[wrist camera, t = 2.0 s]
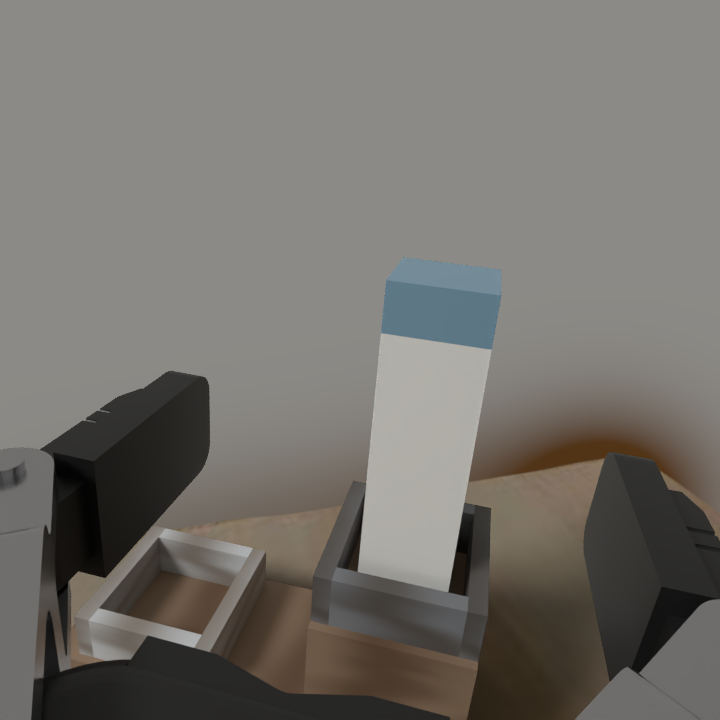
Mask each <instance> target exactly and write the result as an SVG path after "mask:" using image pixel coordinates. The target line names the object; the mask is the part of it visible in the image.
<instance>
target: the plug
mask: <svg viewBox="0 0 720 720" xmlns="http://www.w3.org/2000/svg"><path fill="white" fill-rule="evenodd" d="M500 300H501V270H500V269H491V268H483V267H476V266H468V265H460V264H452V263H443V262H436V261H428V260H420V259H413V258H404V257H403V259H402V260H401V261H400V263H399V264H398V265H397V267H396V268H395V269H394V271H393V272H392V273H391V275H390V276H389V277H388V279H387V280H386V288H385V299H384V309H383V319H382V331H381V339H380V350H379V360H378V370H377V380H376V390H375V401H374V411H373V421H372V431H371V441H370V452H369V462H368V472H367V483H366V492H365V503H364V513H363V523H362V533H361V543H360V554H359V564H358V572H360V573H365V574H369V575H373V576H378V577H382V578H387V579H391V580H395V581H400V582H404V583H409V584H413V585H418V586H422V587H426V588H431V589H435V590H440V591H444V592H448V591H449V585H450V580H451V574H452V568H453V563H454V557H455V552H456V546H457V540H458V535H459V529H460V524H461V518H462V512H463V507H464V501H465V496H466V490H467V485H468V479H469V473H470V468H471V462H472V456H473V451H474V445H475V440H476V434H477V429H478V423H479V417H480V411H481V406H482V401H483V395H484V390H485V383H486V378H487V373H488V367H489V361H490V356H491V350H492V345H493V339H494V334H495V328H496V322H497V317H498V311H499V305H500Z"/></svg>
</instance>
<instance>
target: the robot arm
mask: <svg viewBox="0 0 720 720" xmlns="http://www.w3.org/2000/svg"><path fill="white" fill-rule="evenodd" d="M209 446H210V411H209V384H208V381H207V379H206V378H205V377H201V376H196V375H191V374H186V373H179V372H174V371H168V372H166V373H165V374H163V375H162V376H161V377H159V378H158V379H156V380H155V381H153V382H152V383H151V384H149V385H148V386H147V387H145V388H144V389H139V390H136V391H133V392H130V393H127V394H124V395H122V396H119V397H117V398H115V399H114V400H112V401H111V402H110V403H108V404H106V405H105V406H104V407H102V408H101V409H100V411H96V412H95V413H93V414H92V415H90V416H89V417H87V418H86V421H81V422H80V423H79V424H77V425H75V426H74V427H73V428H71V429H70V430H68V431H67V432H65V433H64V434H62V435H61V436H59V437H58V438H56V439H55V440H53V441H52V442H51V443H49V444H48V445H46V446H45V447H43V448H42V449H40V450H38V449H33V448H9V449H3V450H0V720H450V717H448V716H444V715H441V714H437V713H433V712H429V711H426V710H422V709H418V708H415V707H411V706H407V705H404V704H400V703H396V702H392V701H389V700H385V699H381V698H378V697H374V696H367V695H330V694H294V693H286V692H283V691H280V690H278V689H276V688H275V687H273V686H271V685H269V684H268V683H266V682H264V681H263V680H261V679H259V678H257V677H256V676H254V675H252V674H251V673H249V672H247V671H245V670H244V669H242V668H240V667H238V666H237V665H235V664H233V663H232V662H230V661H228V660H226V659H225V658H223V657H221V656H219V655H218V654H215V653H211V652H208V651H204V650H200V649H197V648H193V647H189V646H185V645H182V644H178V643H174V642H171V641H167V640H163V639H160V638H156V637H152V636H147V637H146V638H145V640H144V641H143V643H142V644H141V646H140V647H139V648H138V650H137V651H136V653H135V654H134V655H133V657H132V658H131V659H121V660H110V661H101V662H96V663H90V664H85V665H81V666H78V667H74V668H71V591H70V583H69V580H70V579H71V578H72V577H73V576H74V575H75V574H76V573H77V572H78V571H80V572H84V573H87V574H91V575H95V576H99V577H103V578H106V577H107V576H108V574H109V573H110V572H111V571H112V570H113V569H114V568H115V567H116V565H117V564H118V563H119V562H120V561H121V560H122V559H123V558H124V557H125V555H126V554H127V553H128V552H129V551H130V550H131V549H132V548H133V546H134V545H135V544H136V543H137V542H138V541H139V540H140V539H141V538H142V536H143V535H144V534H145V533H146V532H147V531H148V530H149V529H150V527H151V526H152V525H153V524H154V523H155V522H156V521H157V520H158V518H159V517H160V516H161V515H162V514H163V513H164V512H165V511H166V510H167V508H168V507H169V506H170V505H171V504H172V503H173V502H174V500H176V498H177V497H178V496H179V495H180V494H181V493H182V492H183V491H184V489H185V488H186V487H187V486H188V485H189V484H190V483H191V482H192V481H193V479H194V478H195V477H196V476H197V475H198V474H199V473H200V471H201V470H202V468H203V467H204V465H205V462H206V460H207V456H208V453H209ZM714 534H715V532H714V530H713V528H712V526H711V524H710V522H709V521H708V519H707V517H706V515H705V513H704V512H703V511H702V510H701V509H700V508H699V507H698V506H697V505H695V504H694V503H693V502H692V501H691V500H690V499H689V498H688V497H687V496H685V495H684V494H683V493H682V492H678V491H673V490H668V488H667V486H666V483H665V481H664V479H663V477H662V475H661V473H660V471H659V469H658V467H657V465H656V463H655V461H654V460H651V459H646V458H641V457H635V456H629V455H624V454H618V453H613V452H610V453H608V454H607V456H606V458H605V460H604V463H603V466H602V469H601V473H600V476H599V480H598V483H597V487H596V490H595V493H594V497H593V500H592V504H591V507H590V511H589V514H588V518H587V521H586V526H585V532H584V557H585V561H586V566H587V571H588V576H589V581H590V586H591V591H592V596H593V601H594V606H595V611H596V616H597V621H598V626H599V630H600V635H601V640H602V645H603V650H604V655H605V660H606V665H607V670H608V675H609V680H610V683H609V684H608V685H607V686H606V687H605V688H604V689H603V690H602V691H601V692H600V693H599V694H598V695H597V696H596V698H595V699H594V700H593V701H592V702H591V703H590V704H589V705H588V706H587V707H586V708H585V709H584V710H583V711H582V712H581V714H580V715H579V716H578V717H577V718H576V719H575V720H720V541H719V539H718V537H717V536H715V535H714Z"/></svg>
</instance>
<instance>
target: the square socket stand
mask: <svg viewBox="0 0 720 720" xmlns="http://www.w3.org/2000/svg"><path fill="white" fill-rule="evenodd" d="M365 492H366V483H361V482H356V481H353V482H352V485H351V487H350V490H349V492H348V494H347V497H346V499H345V501H344V504H343V506H342V509H341V511H340V513H339V516H338V518H337V521H336V523H335V525H334V528H333V530H332V532H331V535H330V537H329V540H328V542H327V544H326V547H325V549H324V551H323V554H322V556H321V559H320V561H319V563H318V566H317V568H316V570H315V573H314V575H313V586H312V590H310V589H306V588H302V587H298V586H293V585H289V584H285V583H281V582H276V581H272V580H268V579H265V572H266V551H263V550H258V549H254V548H249V547H245V546H241V545H236V544H232V543H227V542H223V541H219V540H214V539H210V538H205V537H201V536H196V535H192V534H188V533H183V532H179V531H174V530H170V529H165V528H161V527H156V526H153V527H152V528H151V529H150V531H149V532H148V533H147V534H146V535H145V536H144V537H143V539H142V540H141V541H140V542H139V543H138V544H137V545H136V547H135V548H134V549H133V550H132V551H131V552H130V553H129V555H128V556H127V557H126V558H125V559H124V560H123V561H122V563H121V564H120V565H119V566H118V567H117V568H116V569H115V571H114V572H113V573H112V574H111V575H110V576H109V577H108V579H107V580H106V581H105V582H104V583H103V584H102V585H101V587H100V588H99V589H98V590H97V591H96V592H95V593H94V595H93V596H92V597H91V598H90V599H89V600H88V601H87V603H86V604H85V605H84V606H83V607H82V608H81V609H80V611H79V612H78V613H77V614H76V615H75V616H74V619H75V625H74V626H73V627H72V628H71V668H74V667H78V666H81V665H85V664H90V663H96V662H101V661H110V660H121V659H131V658H132V657H133V655H134V654H135V653H136V651H137V650H138V648H139V647H140V646H141V644H142V643H143V641H144V640H145V638H146V637H147V636H152V637H156V638H160V639H163V640H167V641H171V642H174V643H178V644H182V645H185V646H189V647H193V648H197V649H200V650H204V651H208V652H211V653H215V654H218V655H219V656H221V657H223V658H225V659H226V660H228V661H230V662H232V663H233V664H235V665H237V666H238V667H240V668H242V669H244V670H245V671H247V672H249V673H251V674H252V675H254V676H256V677H257V678H259V679H261V680H263V681H264V682H266V683H268V684H269V685H271V686H273V687H275V688H276V689H278V690H280V691H283V692H286V693H294V694H330V695H367V696H374V697H378V698H381V699H385V700H389V701H392V702H396V703H400V704H404V705H407V706H411V707H415V708H418V709H422V710H426V711H429V712H433V713H437V714H441V715H444V716H448V717H450V720H467V717H468V712H469V708H470V703H471V698H472V694H473V689H474V685H475V680H476V676H477V671H478V660H479V655H480V651H481V646H482V642H483V637H484V632H485V628H486V623H487V619H488V596H489V558H490V520H491V508H488V507H483V506H478V505H472V504H467V503H464V507H463V512H462V518H461V524H460V529H459V535H458V540H457V546H456V552H455V557H454V563H453V568H452V574H451V580H450V585H449V591H448V592H444V591H440V590H435V589H431V588H426V587H422V586H418V585H413V584H409V583H404V582H400V581H395V580H391V579H387V578H382V577H378V576H373V575H369V574H365V573H360V572H358V564H359V554H360V543H361V533H362V523H363V513H364V503H365Z"/></svg>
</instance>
